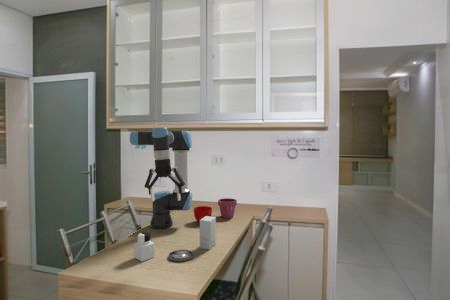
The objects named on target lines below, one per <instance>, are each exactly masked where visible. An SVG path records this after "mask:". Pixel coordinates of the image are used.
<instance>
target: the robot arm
mask: <svg viewBox="0 0 450 300" xmlns="http://www.w3.org/2000/svg"><path fill="white" fill-rule="evenodd" d="M129 142H130V144H131V145H132V146H153V157H154V159H155V160H154V166H155V168H150V169H149V170H148V176H147V179H146V181H145V184H144V188H145V189H146V188H147V189H148V195H149V196H150V200H151V202H152V204H151V205H152V215H151V217H150V218H151V219H150V223H149V227H150V228H151V229H158V230H159V229H160V230H161V229H162V230H163V229H167V228H170V227H173V226H174V225H173V224H174V222H173V219H172V215H171V211H184V212H185V211H189V210H190V209H191V207H192V203H193V193H192V192H191V190H190V189H189V187H188V185H189V183H188V180H189V179H188V153H189V152H190V149H191V148H192V147H193V145H192V144H193V142H192V135H191V132H190V131H188V130H183V129H181V130H168V127H166V126H165V127H164V126H163V127H154V128H152V129H151V131H150V130H146V131H145V130H139V131H138V130H134V131H131V132H130V134H129ZM170 149H171V151H172V152H173V153H174V167H172V166H171V165H172V164H171V158H170V157H171V154H170ZM173 173H174V175H173ZM154 174H156V175H155V176H154V178H153V175H154ZM152 178H153V179H152ZM159 178H161V179H162V178H169V179H170V180H171V181H172V182H173V183H174V189H173V190H172V192H171V191H170V190H161V191H157V192H155V188H154V187H153V186H154V185H155V184H156V182H157V181H158V179H159ZM151 180H152V181H151Z"/></svg>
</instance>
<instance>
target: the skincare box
mask: <svg viewBox="0 0 450 300" xmlns="http://www.w3.org/2000/svg"><path fill="white" fill-rule="evenodd" d="M216 220H217V217H216V216H211V217H210V216H205V217H204V218H202V219H201V220H200V223H199V249H202V250H211V249H213V247H215V246H216V244H217V242H216V241H217V238H216V237H217V235H216V233H217V229H216V227H217V221H216Z"/></svg>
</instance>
